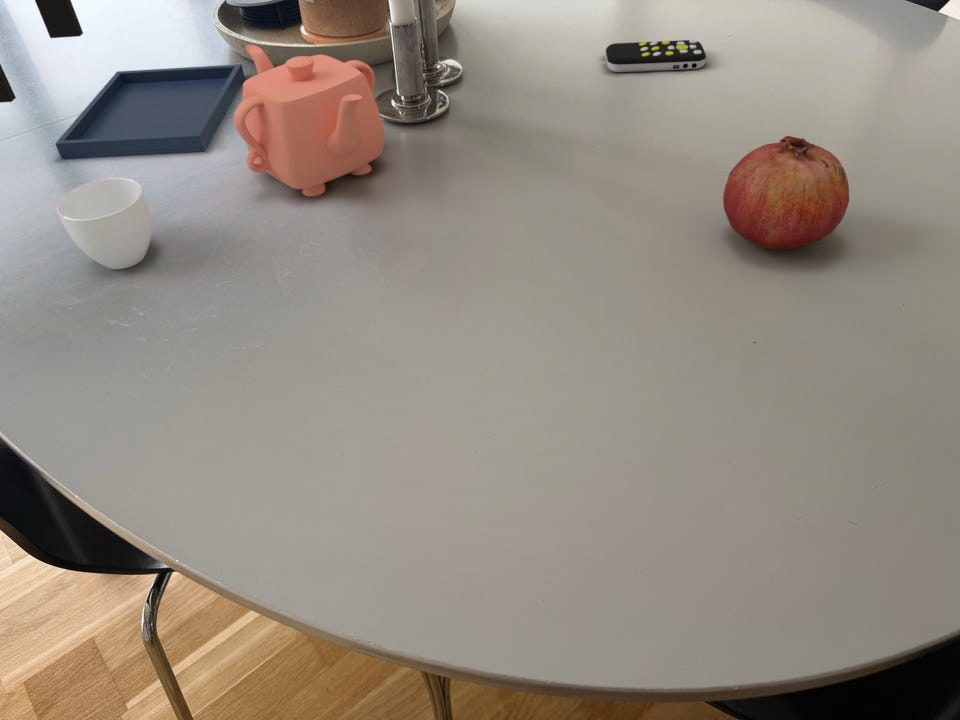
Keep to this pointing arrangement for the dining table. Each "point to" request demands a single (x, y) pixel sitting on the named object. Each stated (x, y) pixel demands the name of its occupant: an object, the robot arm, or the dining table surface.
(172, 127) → the tray
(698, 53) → the remote control
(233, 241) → the dining table surface
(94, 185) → the cup
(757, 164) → the fruit
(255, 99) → the teapot
